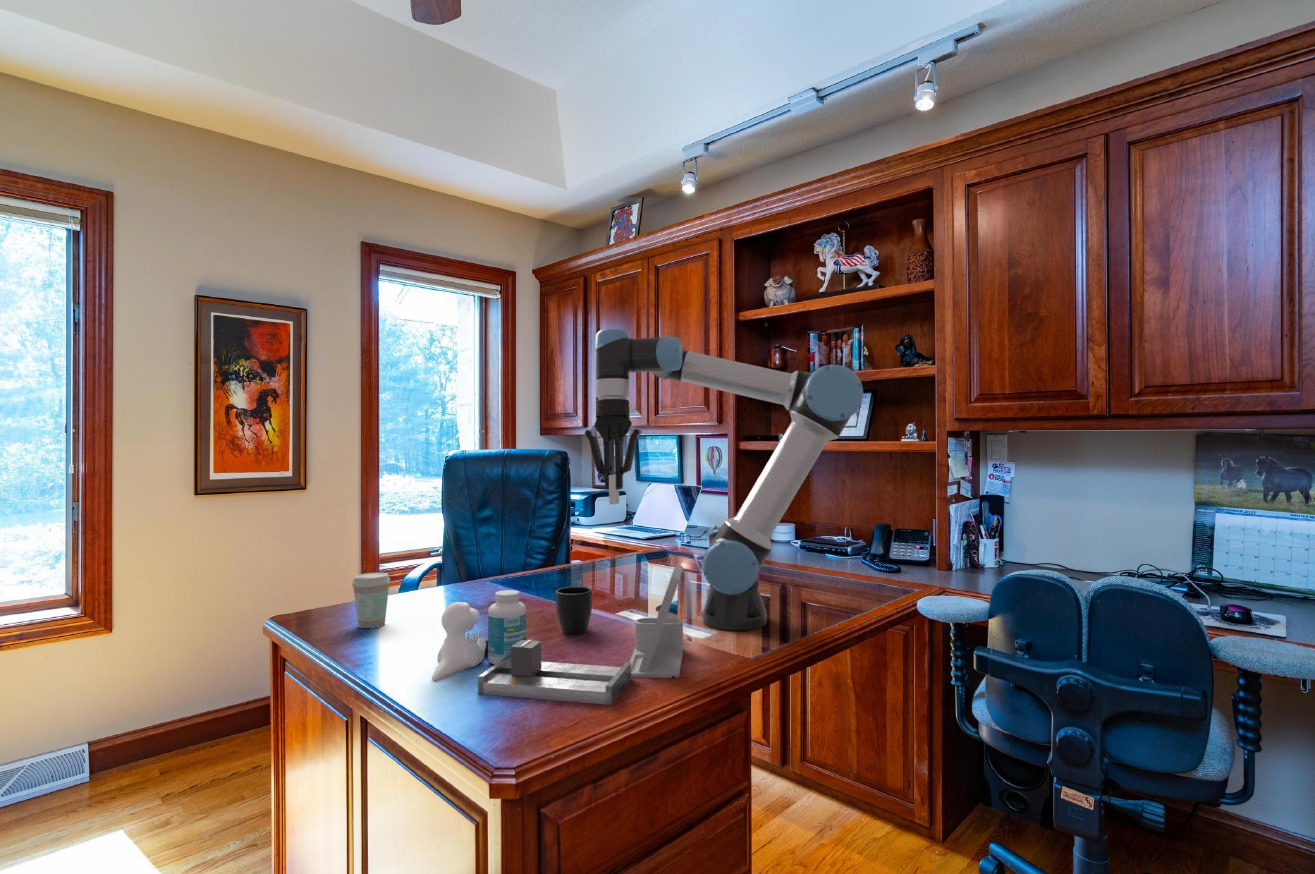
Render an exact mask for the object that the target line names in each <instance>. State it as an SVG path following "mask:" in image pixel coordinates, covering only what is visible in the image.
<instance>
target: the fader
mask: <svg viewBox="0 0 1315 874" xmlns="http://www.w3.org/2000/svg"><path fill="white" fill-rule="evenodd" d="M541 662H542V641H541V640H532V639H528V640H527V639H526V640H520V641H518V642H517V643H516V644H514V645H513V646H511V675H516V676H530V677H532V676H536V675H537V672H538V671H539V670H541Z"/></svg>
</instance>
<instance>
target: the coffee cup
mask: <svg viewBox="0 0 1315 874" xmlns="http://www.w3.org/2000/svg"><path fill="white" fill-rule="evenodd" d="M390 583H391V578H390V576H389V573H387V572H380V571H379V572H367V573H361V574H357V575H355V576H354V577H353V580H352V582H351V586H352V587H353V594H354V595H353V596H354V602H355V603H354V604H355V610H356V617H357V626H360V627H363V628H370V629H374V628H373V627H377V626H381V627H383V626H384V625H386V617H387V607H388V600H389V599H388V598H389V589H390ZM383 624H384V625H383ZM382 625H383V626H382ZM377 628H378V627H377Z"/></svg>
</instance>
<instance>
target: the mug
mask: <svg viewBox="0 0 1315 874" xmlns="http://www.w3.org/2000/svg"><path fill="white" fill-rule="evenodd" d="M555 607H556V614H557V618H558V623H559V625H560V628H561V632H562V634H563V635H565V636H579V635H580V636H581V635H583V634H586V633H587V631H588V626H589V623H590V620H591V616H592V609H593V589H592V588H591V587H588V586H587V587H586V586H582V585H581V586H566V587H560V588H558V589H557V590H555Z"/></svg>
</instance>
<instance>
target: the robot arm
mask: <svg viewBox="0 0 1315 874" xmlns="http://www.w3.org/2000/svg"><path fill="white" fill-rule="evenodd" d="M594 357H595V359H594V360H595V361H594V362H595V398H597V400H596V401H595V418H596V419H595V421H594V423H593V425H594V426H593V427H591V428H590V429H587V430H585V431H584V435H585V437H586V438H587V439H588V441H589V444H590V449H591V453H592V458H593V461H594V465H595V470H596V472H597V473H601V474H603V475H604V488H605V490H608V496H609V497H608V498H609V500H608V502H609V503H608V504H609V505H618V504H620V490H622V489H623V487H624V474H626V473H629V472H630V471H631V469H632V466H633V463H634V462H633V461H634V456H635V454H636V453H635V452H636V447H637V443H638V439H639V438H640V436H641V435H642V433H643V432H642V430H641V429H639V428H636V427H635V426H633V424H632V421H631V418H630V417H631V416H630V413H631V412H630V410H631V409H630V401H629V399H627V398H629V397H630V373H640V372H641V373H643V372H644V373H648V372H649V373H652V374H653V375H655V377H657V378H660V379H663V380H668V379H669V380H673V381H677V382H682V383H683V382H684V383H687V384H692V385H694V386H695V385H696V386H700V387H705V388H709V389H713V390H717V391H722V392H726V393H731V394H735V395H739V396H743V397H748V398H752V399H756V400H761V401H765V402H770V403H775V404H778V405H783V406H784V408H785V409H786V411H789V415H790V418H791V423H790V424H789V426H788V427H787V429H786V431H785V432H784V434H783V436H782V437H781V439H780V441H779V443H777V446H776V448H775V449H774V450H773V452H772V454H771V456H770V458H769V459H768V461H767V462H766V465H765V466H764V467H763V470H762V471H761V473H760V475H759V476H758V478H757V480H756V481H755V483H754V485H753V486H752V488H751V490H750V492H749V493H748V495H747V497H746V499H744V502H743V504H741V507H740V508H739V510H738V512H737V513H736V515H735V516H733V517H730V518H727V519H725V520H724V522H723V524H722V525H711V526H710V528H709V530H708V531H709V532H708V536H707V537H708V541H709V542H708V548H707V550H706V551H705V553H704V554H703V557H702V564H701V565H702V570H703V571H702V572H703V574H704V577H705V579H706V581H707V583H708V584H709V591H708V594H707V597H706V601H705V604H704V607H703V611H702V623H703V624H704V625H706V626H708V627H710V628H714V629H719V630H724V631H725V630H727V631H748V630H749V631H750V630H756V629H759V628H762V627H764V626H766V625H767V623H768V616H767V610H766V607H765V604H764V602H763V598H762V595H761V592H760V585H759V584H760V583H759V580H760V577H759V576H760V575H759V571H760V569H761V567H762V566H763V564H764V563H765V560H766V559H767V557H768V556H769V554H770V552H771V550H772V549H773V546H772V542H771V536H772V535H773V533H774V531H775V530H776V528H777V527H778V524H779V523H780V522H781V520H782V518H783V517H784V515H785V513H786V511H787V510H788V508H789V507H790V505H791V503H792V501H793V500H794V499H795V497H796V495H797V493H798V492H799V490H800V488H801V486H802V485H803V483H804V482H805V480H806V478H807V476H808V475H809V473H810V471H811V470H812V467H814V465H815V462H817V459H818V458H819V456H820V454H821V453H822V451H823V450H824V449H825V446H826V444H827V443H828V442H830V441H833V440H837V439H839V437H840V436H841V434H842V432H843V431H844V429H845V427H846V426H847V424H848V422H849V420H850V419H851V417H852V416H853V415H855V414H856V413H857V412H858V410H859V409H860V407H861V406H862V403H863V397H864V388H863V384H862V381H861V380H860V378H859V376H858V375H857V374H856V373H855V372H854V371H853V370H851V369H850V368H849V367H846V366H844V365H840V364H828V365H827V364H826V365H823V366H820V367H818V368H817V369H816V370H814V371H813V372H807V371H801V370H795V371H794V372H792V373H789V372H785V371H781V370H776V369H770V368H768V367H767V368H766V367H763V366H757V365H753V364H749V363H743V362H740V361H735V360H731V359H725V358H721V357H717V356H712V355H707V354H703V353H699V352H695V351H694V352H693V351H690V350H685V349H683V347H682V341H681V339H680V338H679V337H675V336H674V337H673V336H665V335H664V336H662V337H661V336H660V337H658V336H657V337H643V338H631V337H630V335H629V332H628V331H627V330H625V329H622V328H621V329H620V328H606V329H601V330H599V331H598V332H597V333H596V335H595V349H594ZM598 434H599V436H600V437H601V438H602V443H603V457H602V452H601V448H600V444H599V440H598V437H597V436H598ZM627 434H629V436H630V437H629V440H628V444H627V449H626V453H625V458H624V439H625V437H626V436H627ZM613 443H614V471H615V472H614V471H613Z"/></svg>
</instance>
